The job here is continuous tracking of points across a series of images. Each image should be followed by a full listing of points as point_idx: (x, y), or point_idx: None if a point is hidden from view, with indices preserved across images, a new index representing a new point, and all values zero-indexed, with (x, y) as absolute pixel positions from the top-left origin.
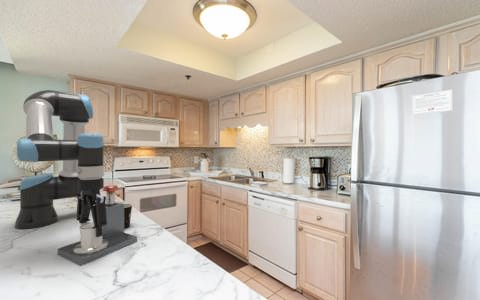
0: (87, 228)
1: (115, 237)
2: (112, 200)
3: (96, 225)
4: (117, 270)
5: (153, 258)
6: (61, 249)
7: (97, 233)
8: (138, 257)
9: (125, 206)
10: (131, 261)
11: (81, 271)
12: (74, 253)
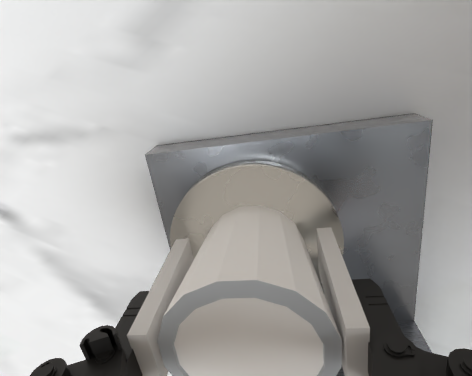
0: (181, 310)
1: None
2: None
3: (85, 367)
4: (7, 218)
5: (18, 324)
6: (392, 132)
7: (129, 312)
8: (62, 304)
9: None
10: (46, 277)
11: (97, 128)
12: (253, 160)
